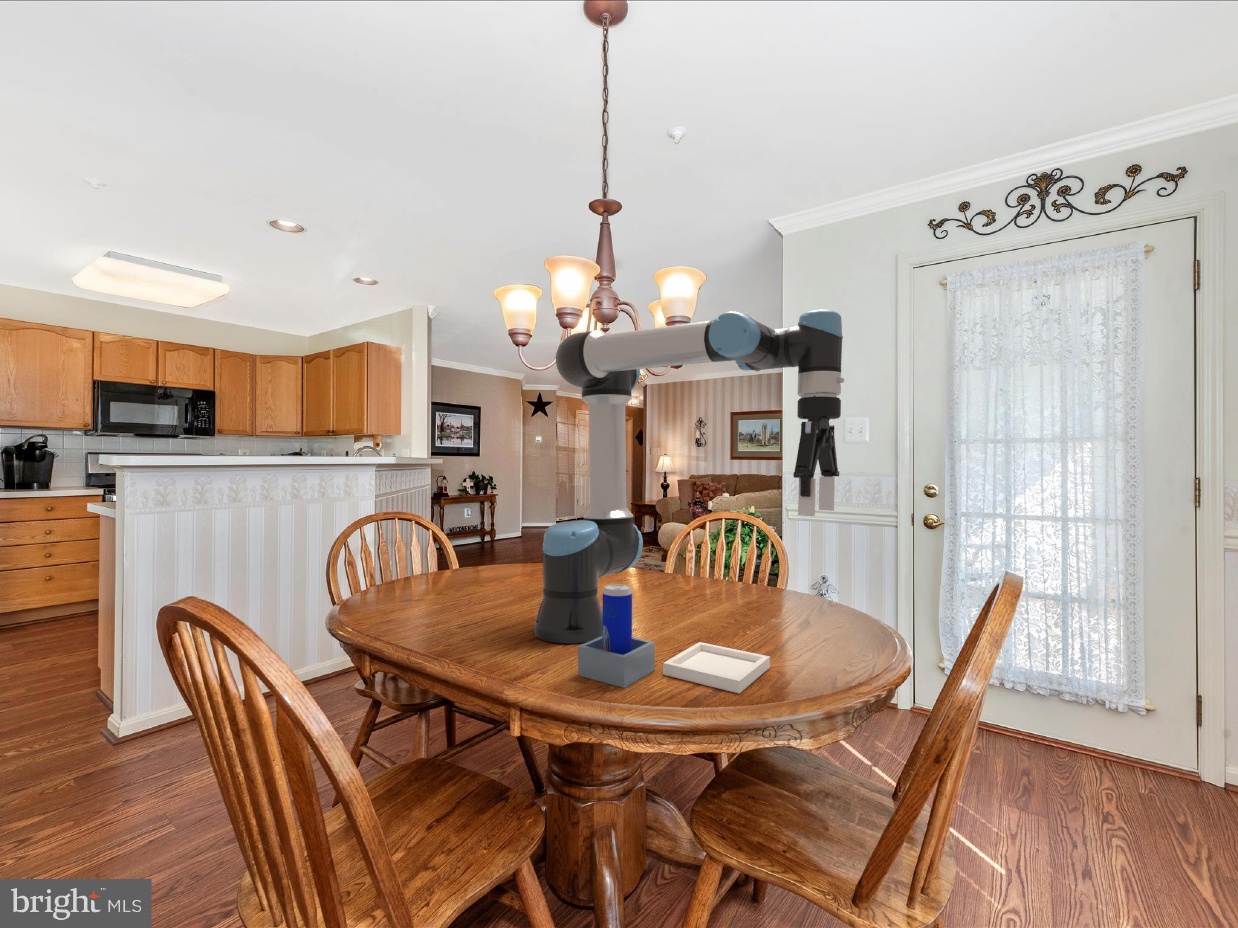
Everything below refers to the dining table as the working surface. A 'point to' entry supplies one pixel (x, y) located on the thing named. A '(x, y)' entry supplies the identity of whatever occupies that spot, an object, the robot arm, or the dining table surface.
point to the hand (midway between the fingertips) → (816, 513)
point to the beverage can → (617, 619)
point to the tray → (717, 666)
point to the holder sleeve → (616, 662)
